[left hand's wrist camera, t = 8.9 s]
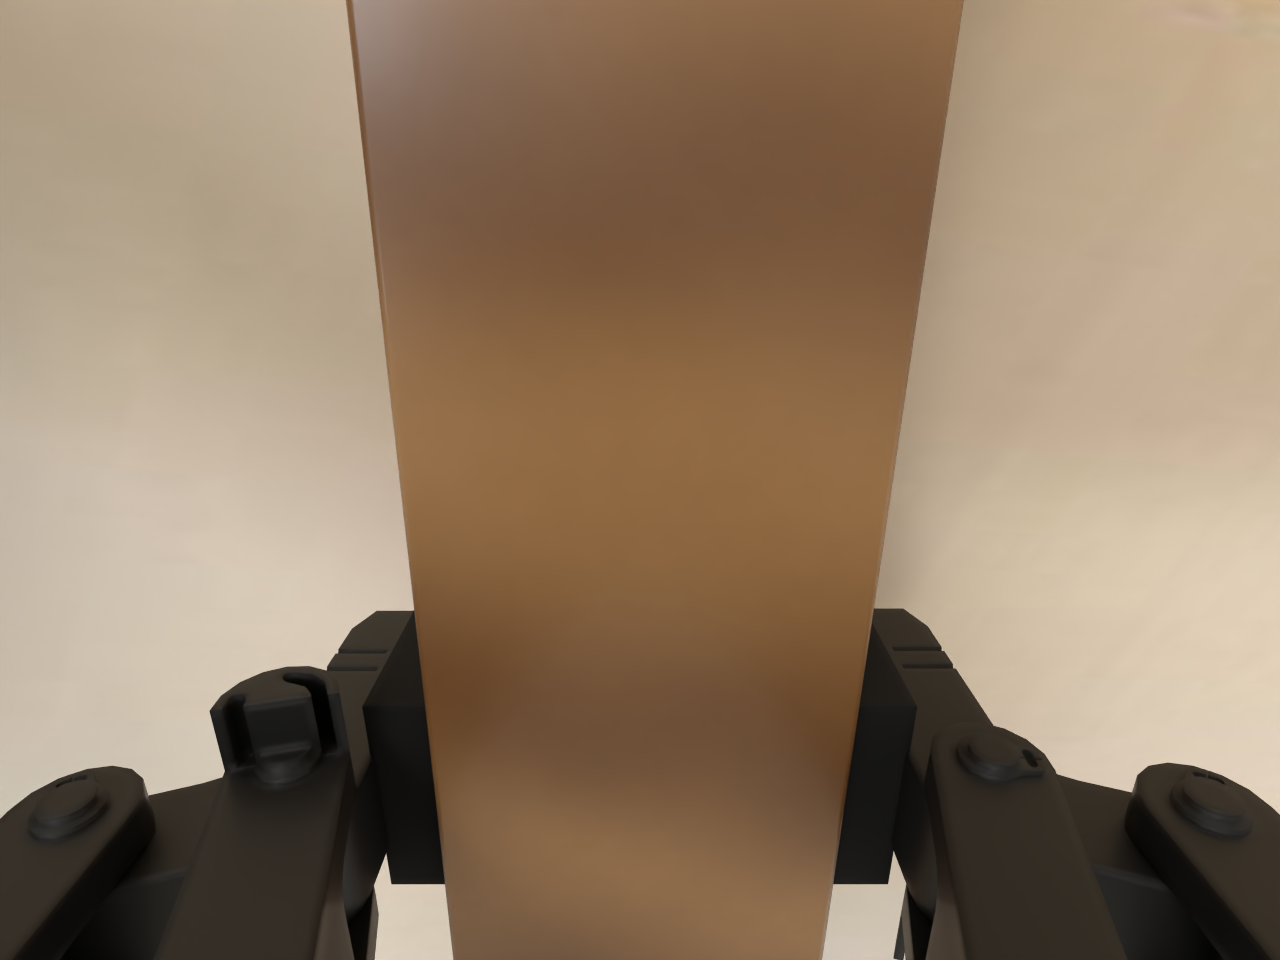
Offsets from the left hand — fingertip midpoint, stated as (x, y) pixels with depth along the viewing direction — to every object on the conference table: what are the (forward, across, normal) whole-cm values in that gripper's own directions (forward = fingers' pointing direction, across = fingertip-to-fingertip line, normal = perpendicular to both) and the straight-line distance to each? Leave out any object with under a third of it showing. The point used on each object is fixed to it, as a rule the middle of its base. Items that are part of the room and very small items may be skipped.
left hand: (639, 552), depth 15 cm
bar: (+1, 0, -28) cm, 28 cm away
